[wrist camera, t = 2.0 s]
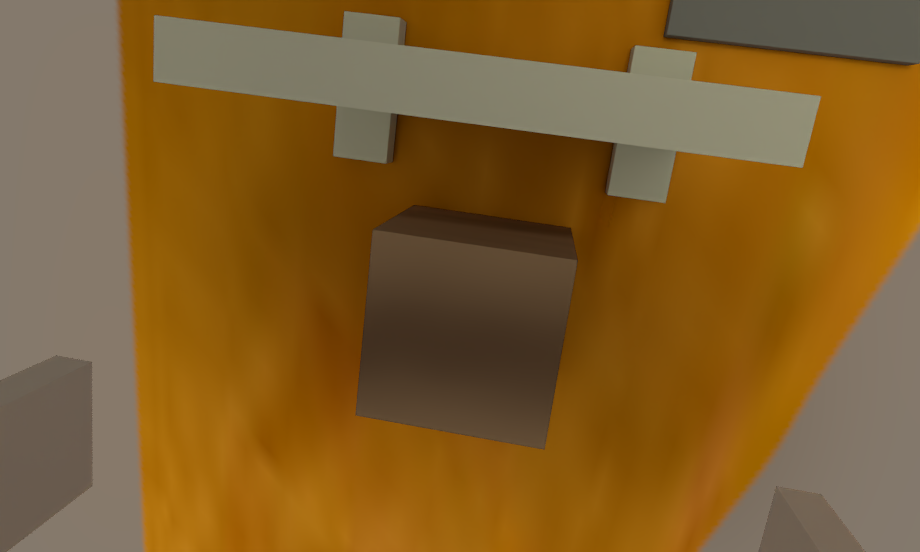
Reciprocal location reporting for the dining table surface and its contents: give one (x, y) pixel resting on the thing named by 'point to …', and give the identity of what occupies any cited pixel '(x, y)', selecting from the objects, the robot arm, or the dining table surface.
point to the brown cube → (465, 323)
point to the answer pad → (805, 26)
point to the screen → (492, 95)
